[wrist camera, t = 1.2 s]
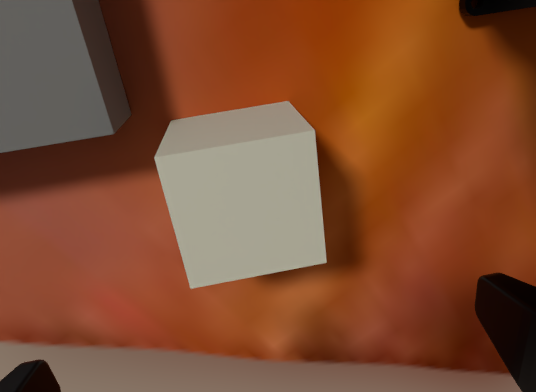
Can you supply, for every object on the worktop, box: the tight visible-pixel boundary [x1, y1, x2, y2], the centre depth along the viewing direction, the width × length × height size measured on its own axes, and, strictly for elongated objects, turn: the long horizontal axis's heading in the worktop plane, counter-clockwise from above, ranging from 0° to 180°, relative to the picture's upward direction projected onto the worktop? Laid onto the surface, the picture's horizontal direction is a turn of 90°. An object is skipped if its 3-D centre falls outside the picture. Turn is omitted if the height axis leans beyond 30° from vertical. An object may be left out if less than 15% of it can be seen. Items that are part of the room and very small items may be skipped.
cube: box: [154, 101, 327, 288], centre depth 15 cm, size 5×5×5 cm
